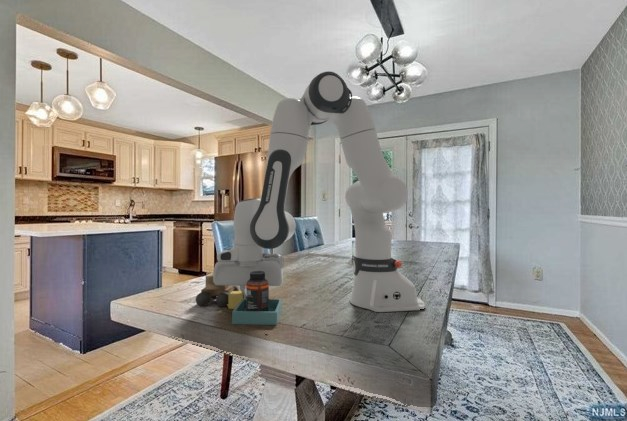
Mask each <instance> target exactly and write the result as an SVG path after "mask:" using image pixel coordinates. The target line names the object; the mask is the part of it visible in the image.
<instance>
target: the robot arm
mask: <svg viewBox="0 0 627 421" xmlns="http://www.w3.org/2000/svg"><path fill="white" fill-rule="evenodd" d="M328 120H330V121H332V123H334V125H335V127H336V129H337V131H338V136H339V140H340V144H341V148H342V152H343V155H344V159H345V162H346V165H347V166H348V167H349V168H350V169H351V170H352V171H353V172H354V174H355V175H356V178H357V181H355V182H353V183H352V184H350V185H349V186H348V187H347V189H346V192H345V197H344V198H345V202H346V204H347V206H348V207H349V209H350V213H351V216H352V220H353V226H354V232H355V235H354V236H355V240H354V241H355V246H354V247H355V250H354V251H355V255H354V257H353V261H352V263H353V270H352V271H353V274H354V277H353V285H352V289H351V293H350V298H349V303H350V304H352V305H353V306H355V307H359V308H363V309H367V310H370V311H373V312H376V313H385V312H387V313H389V312H390V313H391V312H404V311H406V312H407V311H408V312H409V311H421V310H420V309H424V308H426V305H425V302H424V301H423V300H422V299H421V298H420V297H418V292H417V289H416V287H415V285H414V283H413V282H412V281H411V280H409V279H408V278H407V277H406V276H405V275H403V273H401V272H400V271H399V270H398V269H400V268H402V267H403V262H401V261H400V260H398V259H397V260H396V259H395V258H393V257H392V232H391V230H390V227H388V225H387V224H386V221H385V216H384V214H389V213H392V212H395V211H398V210H400V209H401V208H403V207H404V206H405V204H406V203H407V200H408V197H409V196H408V195H409V194H408V193H409V192H408V191H409V190H408V187H407V185H406V183H405V182H404V180H402V179H401V178H400V177H398V176H397V175H396V174H395V172H393V170H392V168H391V167H390V166H389V164H388V162H387V160H386V159H385V156H384V154H383V151H382V148H381V144H380V141H379V137H378V133H377V130H376V127H375V123H374V120H373V116H372V115H371V112H370V110H369V107H368V104H367V103H366V102H365V100H364V99H363V98H361V97H358V96H353V93H352V90H351V89H350V88H349V87H348V85H347V83H346V82H345V80H344V79H343V78H342V77H341V76H340V74H338V73H336V72H334V71H323V72H321V73H319V74H317V75H315V77H313V78H312V79H311V81H310V82H309V84H308V85H307V86H306V88H305V90H304V93H303V94H302V95H301V97H300V98H295V97H294V98H293V97H292V98H291V97H290V98H285V99H282V100H280V101H279V102H278V103H277V106H276V108H275V111H274V114H273V118H272V122H271V128H270V134H269V144H268V155H267V164H266V169H265V170H266V171H265V175H264V181H263V187H262V192H261V196H260V197H261V198H258V197H255V198H246V199H243V200H240V201H239V202H237V203H236V206H235V208H234V217H233V231H234V240H233V247H232V248H228V249H226V250H222V251H220V252H218V253H217V254H216V260H217V262H216V263H215V265H214V268H213V272H214V273H213V282H214V284H215V285H228V286H237V287H238V286H239V291H241V292H242V293H243V295H244V299H246V283H247V281H248V280H249V279H250V272H253V271H264V272H265V279H266V280H268V283H269V287H280V286H282V284H283V282H284V272H283V268H284V267H285V258H284V256H282V255H280V254H279V253H265V249H266V250H273V249H276V248H278V247H280V246H281V245H283V244H284V243H285V242H287V241H289V240H290V239H291V238H292V237H293V236H294V235H295V233H296V230H297V223H296V219H295V217H294V216H293V215H292V214H291V213H290V212H288V211H286V210H285V208H286V207H285V206H286V205H285V204H286V202H287V201H286V200H287V195H288V188H289V183H290V182H289V181H290V179H291V177H292V175H293V173H294V171H295V170H296V169H297V168H299V167H300V166H301V165H302V164H303V163H304V159H305V156H306V153H307V150H308V149H307V148H308V142H309V135H310V134H309V133H310V129H311V128H310V127H311V126H316V125H322V124H324V123H326V122H328ZM424 310H425V309H424Z"/></svg>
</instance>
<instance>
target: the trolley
mask: <svg viewBox="0 0 627 421" xmlns="http://www.w3.org/2000/svg"><path fill="white" fill-rule="evenodd" d="M213 273H214V271H212V272H210V273H209V274H207V275H206V276H205V287H204V288H202V289H201V290H200V291H201V292H200V293H198V294H197V295H196V296H195V303H196V305H197V306H199V307H206V306H207V305H208V304H210V303H211V301H212V299H213V298H214V299H215V303H216V304H217V306H219V307H220V308H225V307H228V297H229V294H230V293H231V292H232V291H240V288H239V287H238V286H228V285H215V284H214V282H213Z"/></svg>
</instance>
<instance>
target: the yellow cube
mask: <svg viewBox="0 0 627 421" xmlns="http://www.w3.org/2000/svg"><path fill="white" fill-rule="evenodd" d="M242 299H244V295H243V293H242V292H241V290H239V291H232V292H231V293H230V294H229V297H228V305H227V307H228V309H230V310H231V309H232V310H234V309H235V308H236V306H237V305H238V304H239V303H240V302H241V300H242Z"/></svg>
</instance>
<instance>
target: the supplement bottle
mask: <svg viewBox="0 0 627 421" xmlns="http://www.w3.org/2000/svg"><path fill="white" fill-rule="evenodd" d="M269 287H270V286H269V283H268V280H266V279H265V272H264V271H253V272H250V279H249V280H248V281H247V283H246V288H245V290H246V311H269V299H270V298H269V296H270V292H269V290H270V289H269Z"/></svg>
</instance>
